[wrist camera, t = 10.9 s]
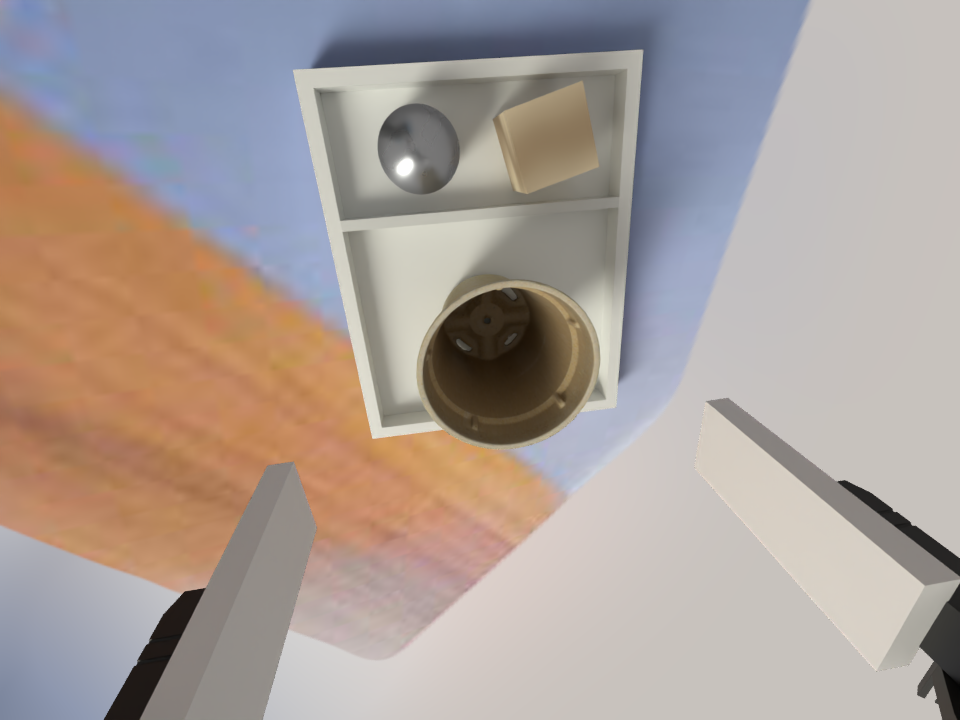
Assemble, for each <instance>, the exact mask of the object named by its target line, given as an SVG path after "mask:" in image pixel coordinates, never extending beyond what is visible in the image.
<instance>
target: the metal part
mask: <svg viewBox="0 0 960 720" xmlns="http://www.w3.org/2000/svg"><path fill="white" fill-rule="evenodd" d="M377 145H378V156H379V160H380V163H381V166H382V168H383V170H384V172H385V174H386V175H387V176H388V178H389V179H390V180H391V181H392V182H393V183H394V184H395V185H396V186H398V187H399V188H400V189H402V190H404V191H406V192H409V193H413V194H419V195H423V194H430V193H433V192H436V191H438V190H440V189H441V188H443V187H444V186H445V185H446V184H448V183H449V181H450V180H451V179H452V177H453V176H454V174H455V172H456V170H457V167H458V164H459V158H460V146H459V140H458V137H457V134H456V131H455V129H454V127H453V126H452V124H451V122H450V121H449V120H448V119H447V118H446V116H445V115H444V114H442V113H441V112H440V111H438V110H437V109H435V108H433V107H431V106H429V105H425V104H419V103H414V104H407V105H404V106H401V107H399V108H397V109H396V110H394V111H393V112H392V113H391V114H390V115H389V116H388V117H387V118H386V120H385V121H384V123H383V125H382V127H381V129H380V132H379V136H378V144H377Z"/></svg>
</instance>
